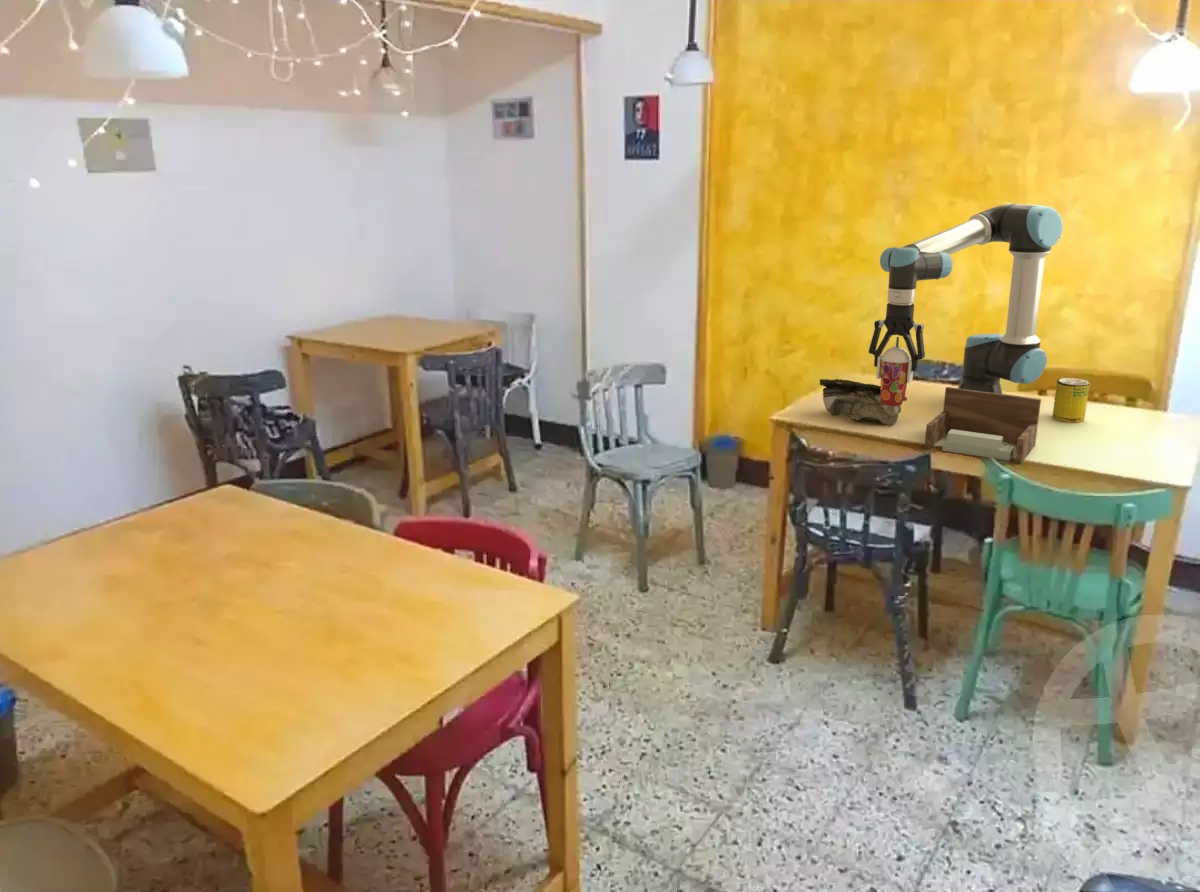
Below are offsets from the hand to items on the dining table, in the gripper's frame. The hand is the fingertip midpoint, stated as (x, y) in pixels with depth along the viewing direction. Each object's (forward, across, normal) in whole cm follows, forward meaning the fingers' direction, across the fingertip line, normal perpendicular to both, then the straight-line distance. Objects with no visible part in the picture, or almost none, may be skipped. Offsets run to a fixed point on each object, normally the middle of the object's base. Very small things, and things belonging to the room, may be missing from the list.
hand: (894, 379), depth 274 cm
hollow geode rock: (+18, -15, +14) cm, 27 cm away
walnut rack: (+17, +25, +3) cm, 31 cm away
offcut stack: (+18, +26, -2) cm, 31 cm away
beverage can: (+17, +41, +45) cm, 64 cm away
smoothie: (+8, 0, 0) cm, 8 cm away
